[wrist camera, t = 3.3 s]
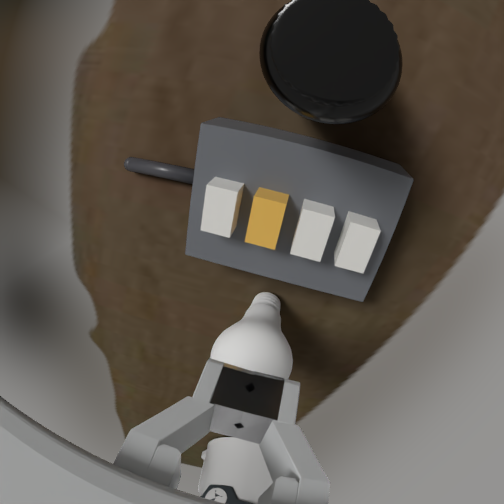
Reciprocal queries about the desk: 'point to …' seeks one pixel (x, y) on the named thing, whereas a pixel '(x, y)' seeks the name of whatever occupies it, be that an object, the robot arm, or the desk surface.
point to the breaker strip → (288, 205)
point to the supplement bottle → (331, 59)
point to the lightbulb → (257, 340)
